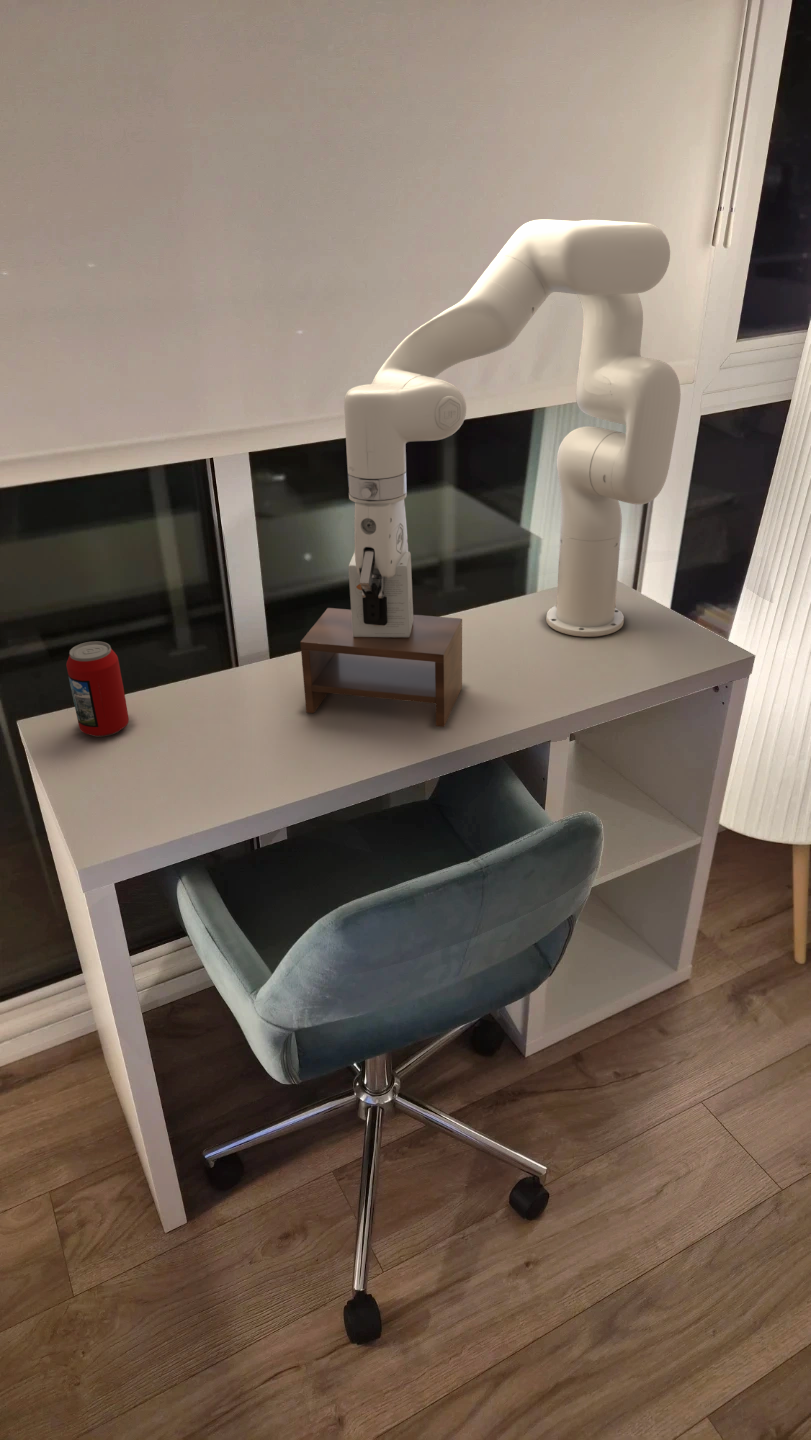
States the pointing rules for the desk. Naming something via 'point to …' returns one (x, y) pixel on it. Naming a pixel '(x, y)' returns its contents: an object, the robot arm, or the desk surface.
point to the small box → (397, 602)
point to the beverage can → (97, 689)
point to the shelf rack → (384, 662)
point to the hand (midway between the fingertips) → (382, 612)
